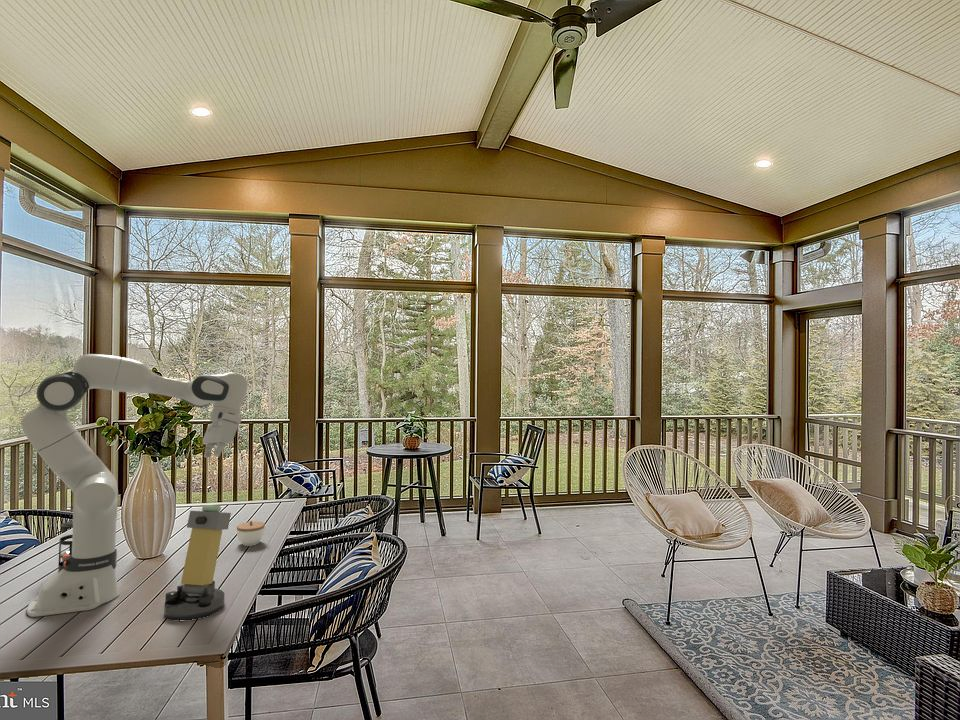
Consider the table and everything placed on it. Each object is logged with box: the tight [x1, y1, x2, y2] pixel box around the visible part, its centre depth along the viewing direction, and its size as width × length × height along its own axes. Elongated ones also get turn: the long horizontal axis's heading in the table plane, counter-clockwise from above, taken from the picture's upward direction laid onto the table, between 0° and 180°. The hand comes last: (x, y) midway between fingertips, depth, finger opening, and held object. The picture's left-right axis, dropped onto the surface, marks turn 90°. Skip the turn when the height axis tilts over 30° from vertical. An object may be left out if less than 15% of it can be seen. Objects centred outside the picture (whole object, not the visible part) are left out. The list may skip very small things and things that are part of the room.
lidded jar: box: [236, 520, 266, 547], centre depth 218 cm, size 11×11×9 cm
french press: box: [57, 505, 73, 573], centre depth 186 cm, size 12×9×23 cm
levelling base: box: [163, 580, 225, 622], centre depth 159 cm, size 16×16×7 cm
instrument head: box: [180, 504, 232, 595], centre depth 161 cm, size 8×10×26 cm
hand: (211, 457), depth 180 cm, fingers open, 8 cm apart
